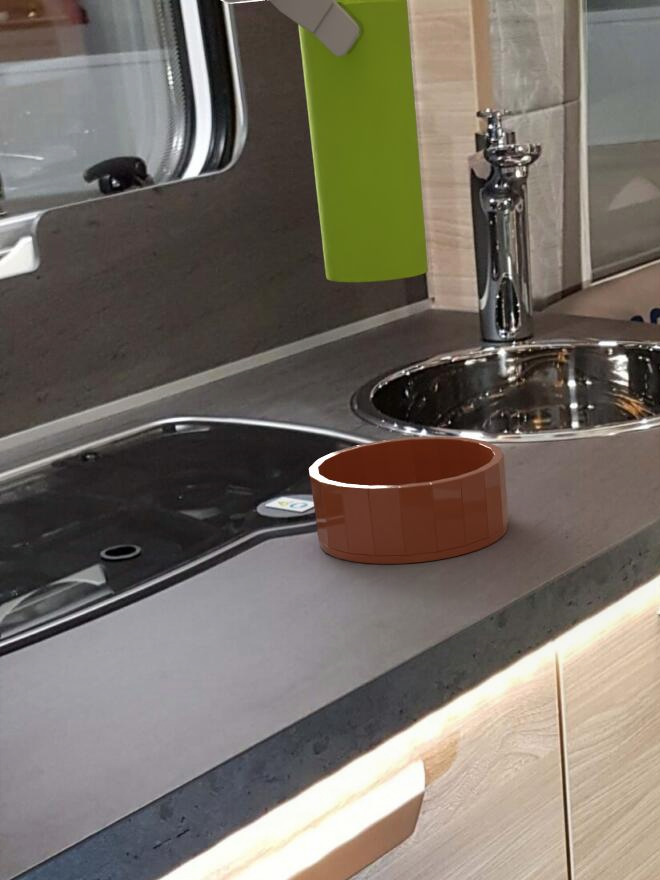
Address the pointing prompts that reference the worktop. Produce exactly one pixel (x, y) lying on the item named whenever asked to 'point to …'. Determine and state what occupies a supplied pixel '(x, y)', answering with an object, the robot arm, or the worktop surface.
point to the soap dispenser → (367, 148)
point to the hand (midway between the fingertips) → (371, 41)
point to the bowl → (410, 499)
